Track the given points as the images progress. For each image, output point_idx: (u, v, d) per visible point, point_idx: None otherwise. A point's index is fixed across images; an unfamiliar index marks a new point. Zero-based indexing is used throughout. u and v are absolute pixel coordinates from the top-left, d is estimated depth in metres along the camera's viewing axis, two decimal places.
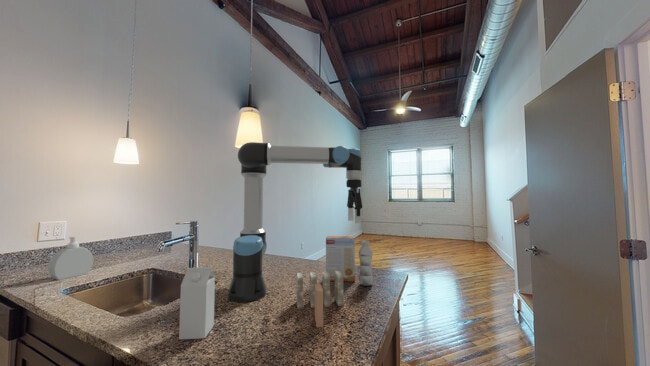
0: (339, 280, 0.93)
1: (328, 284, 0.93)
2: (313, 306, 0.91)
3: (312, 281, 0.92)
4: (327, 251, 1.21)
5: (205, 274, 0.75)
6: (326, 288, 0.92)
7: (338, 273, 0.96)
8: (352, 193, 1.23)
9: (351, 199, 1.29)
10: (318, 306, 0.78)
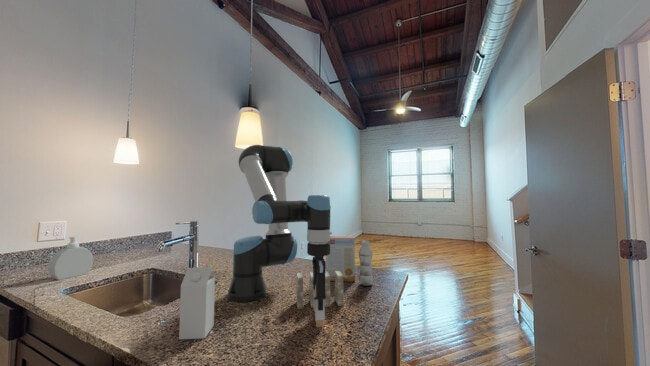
0: (339, 280, 0.93)
1: (328, 284, 0.93)
2: (313, 306, 0.91)
3: (312, 281, 0.92)
4: None
5: (205, 274, 0.75)
6: (326, 288, 0.92)
7: (338, 273, 0.96)
8: (315, 267, 0.79)
9: (316, 273, 0.83)
10: None
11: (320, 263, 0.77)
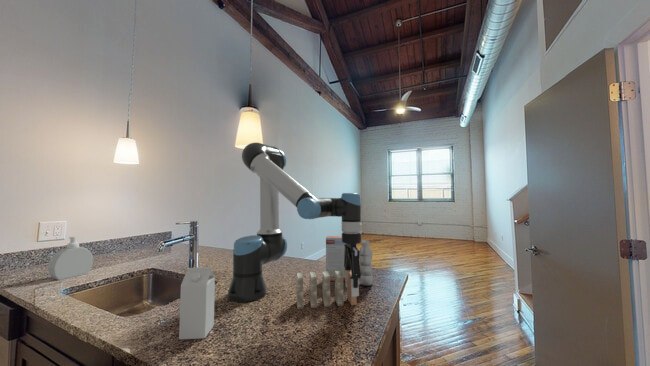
0: (339, 280, 0.93)
1: (328, 284, 0.93)
2: (313, 306, 0.91)
3: (312, 281, 0.92)
4: (327, 251, 1.21)
5: (205, 274, 0.75)
6: (326, 288, 0.92)
7: (338, 273, 0.96)
8: (349, 253, 0.95)
9: (348, 258, 1.00)
10: None
11: (354, 248, 0.93)
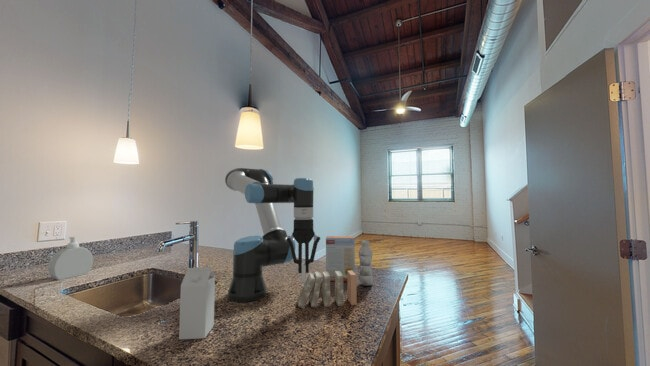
0: (339, 280, 0.93)
1: (328, 284, 0.93)
2: (313, 305, 0.91)
3: (317, 280, 0.92)
4: (327, 251, 1.21)
5: (205, 274, 0.75)
6: (326, 288, 0.92)
7: (338, 273, 0.96)
8: None
9: None
10: (352, 288, 0.94)
11: (291, 235, 0.95)
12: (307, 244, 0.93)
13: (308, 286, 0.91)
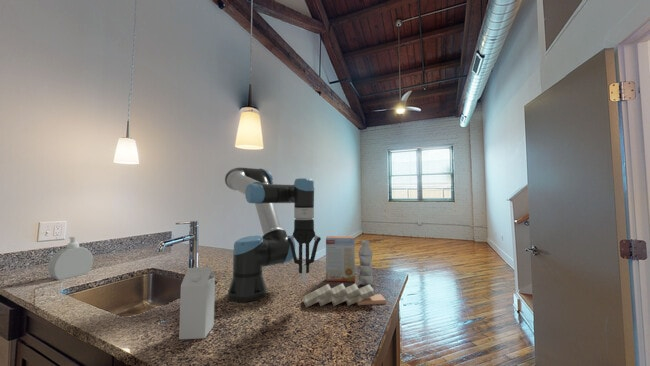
0: (369, 293, 0.93)
1: (352, 295, 0.93)
2: (320, 302, 0.92)
3: (342, 291, 0.93)
4: (327, 251, 1.21)
5: (205, 274, 0.75)
6: (348, 295, 0.93)
7: None
8: None
9: None
10: (373, 302, 0.94)
11: (292, 235, 0.95)
12: (308, 244, 0.94)
13: (323, 294, 0.92)
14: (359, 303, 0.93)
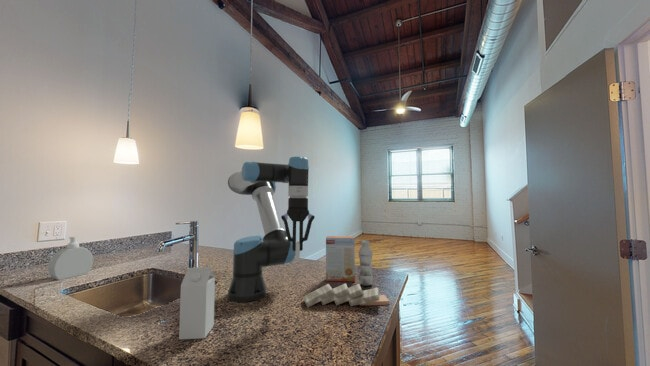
0: (373, 297, 0.90)
1: (355, 295, 0.93)
2: (322, 302, 0.93)
3: (344, 291, 0.94)
4: (327, 251, 1.21)
5: (205, 274, 0.75)
6: (351, 295, 0.93)
7: (378, 293, 0.93)
8: None
9: (299, 225, 0.96)
10: (376, 302, 0.93)
11: (286, 213, 0.95)
12: (301, 222, 0.94)
13: (325, 294, 0.93)
14: (362, 304, 0.93)
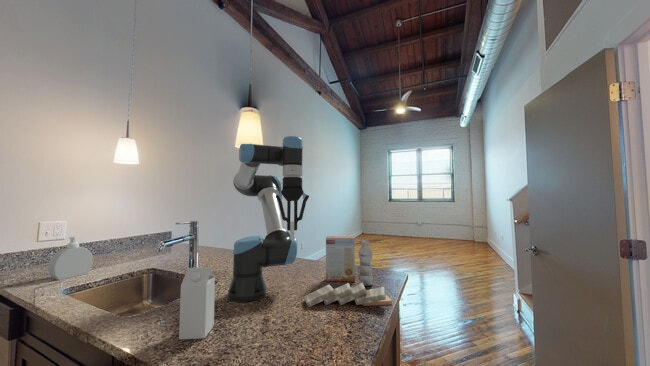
0: (379, 296, 0.90)
1: (359, 294, 0.93)
2: (325, 301, 0.93)
3: (347, 291, 0.94)
4: (327, 251, 1.21)
5: (205, 274, 0.75)
6: (355, 294, 0.93)
7: (384, 292, 0.92)
8: None
9: None
10: (379, 302, 0.93)
11: (280, 193, 0.95)
12: (296, 201, 0.94)
13: (326, 294, 0.93)
14: (365, 304, 0.93)
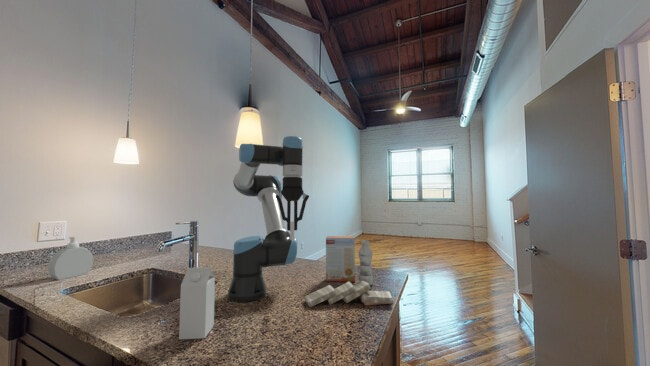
0: (387, 299, 0.92)
1: (364, 291, 0.96)
2: (329, 301, 0.94)
3: (350, 289, 0.95)
4: (327, 251, 1.21)
5: (205, 274, 0.75)
6: (360, 291, 0.95)
7: (390, 296, 0.95)
8: None
9: None
10: None
11: (280, 193, 0.95)
12: (296, 201, 0.94)
13: (327, 294, 0.94)
14: (366, 304, 0.93)
